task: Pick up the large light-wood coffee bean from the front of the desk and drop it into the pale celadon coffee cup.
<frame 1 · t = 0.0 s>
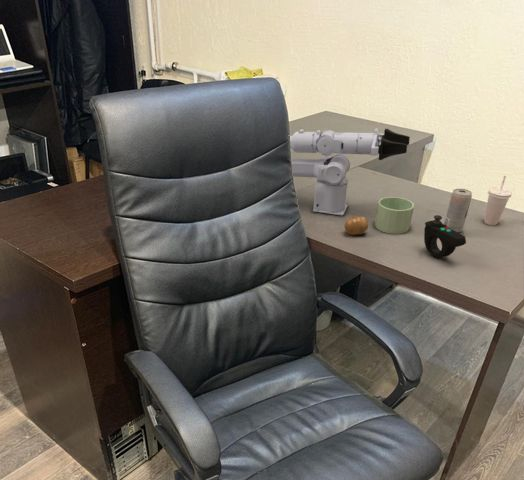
hand: (408, 144, 145), 22 cm above the table, tool horizontal, fingers open, 7 cm apart
smoothie: (490, 223, 158), on the table
bean: (355, 233, 150), on the table
energy drink: (451, 232, 152), on the table
controller: (438, 257, 140), on the table
cup: (392, 226, 154), on the table
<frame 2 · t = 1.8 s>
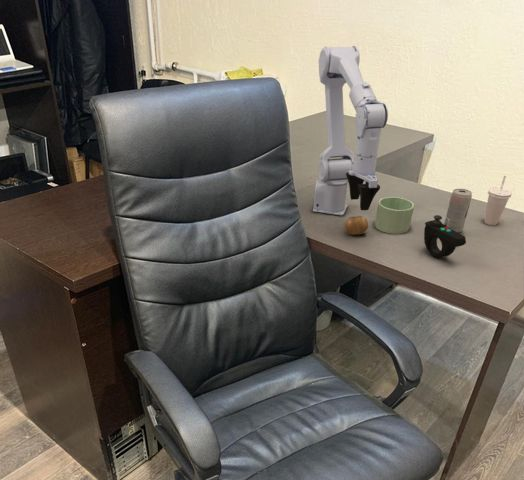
hand: (359, 204, 144), 9 cm above the table, tool pointing down, fingers open, 7 cm apart
nothing on the table moved.
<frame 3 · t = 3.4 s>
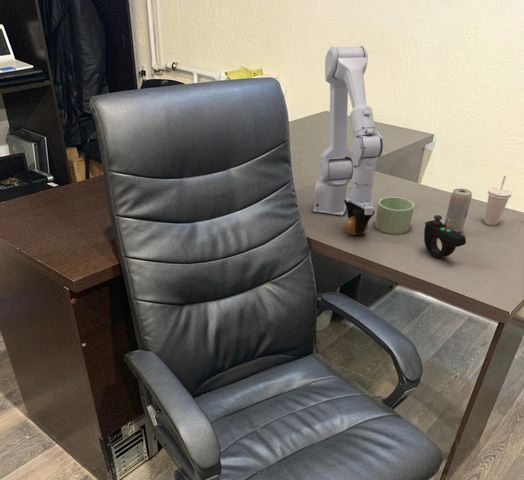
hand: (355, 228, 149), 1 cm above the table, tool pointing down, fingers closed on bean, 5 cm apart
bean: (355, 233, 150), on the table, touching gripper
everything else where it was.
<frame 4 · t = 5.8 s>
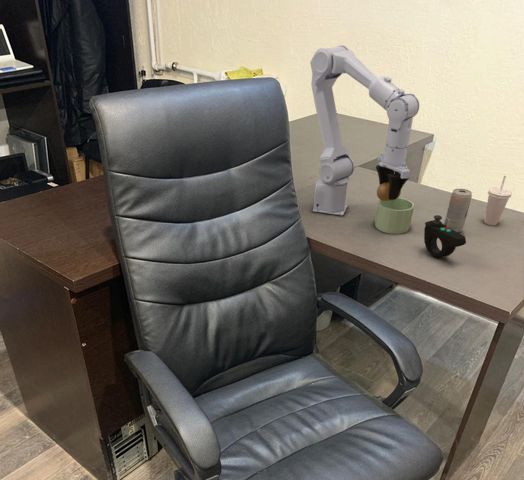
hand: (388, 195, 147), 10 cm above the table, tool pointing down, fingers closed on bean, 5 cm apart
bean: (387, 200, 148), point 9 cm above the table, touching gripper
everything else where it was.
when the fingers open (5 cm above the table, at t = 8.1 s): bean drops 3 cm, resting on cup.
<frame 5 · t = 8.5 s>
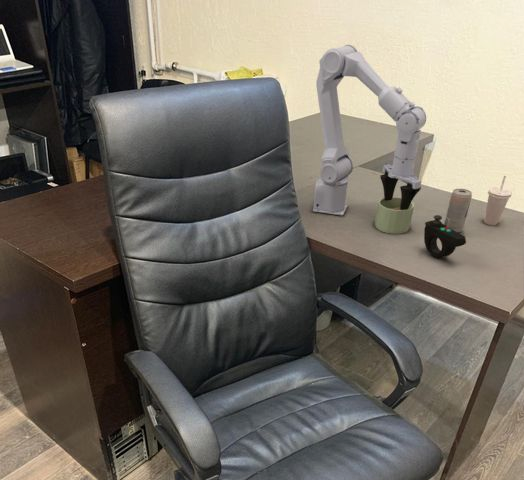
hand: (395, 204, 150), 7 cm above the table, tool pointing down, fingers open, 7 cm apart
bean: (392, 224, 154), point 1 cm above the table, tilted 9°, touching cup
everything else where it was.
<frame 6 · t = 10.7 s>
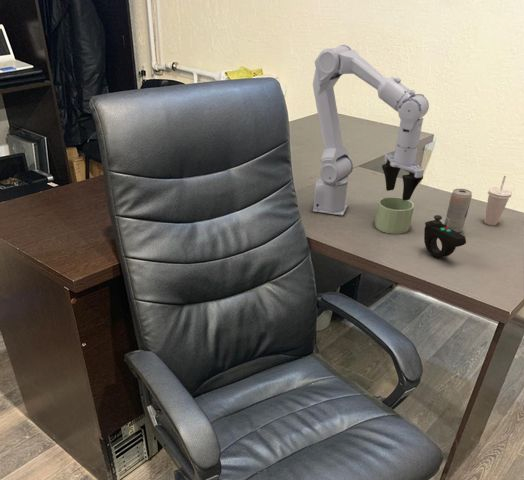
hand: (397, 194, 148), 10 cm above the table, tool pointing down, fingers open, 7 cm apart
bean: (392, 222, 153), point 1 cm above the table, tilted 42°, touching cup
everything else where it was.
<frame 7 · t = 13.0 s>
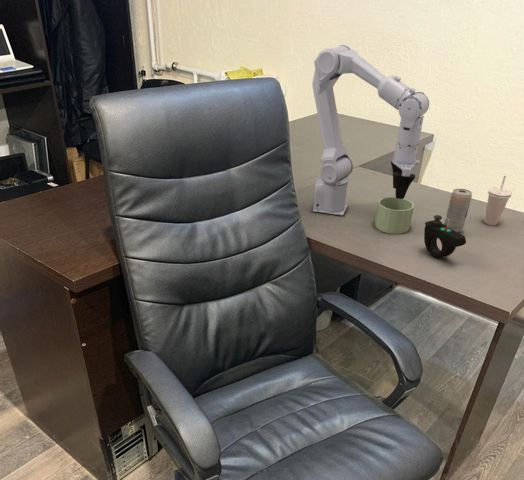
hand: (398, 193, 148), 10 cm above the table, tool pointing down, fingers open, 7 cm apart
nothing on the table moved.
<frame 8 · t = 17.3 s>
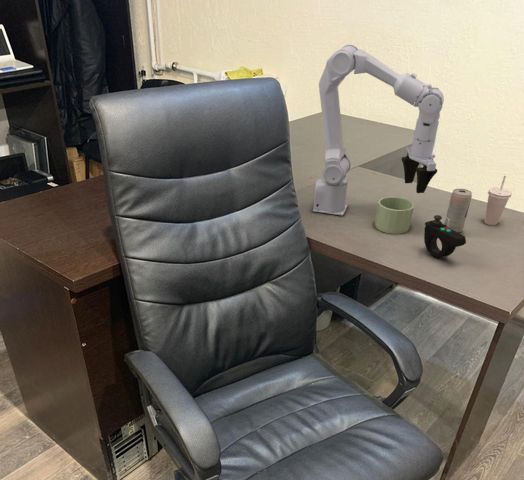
hand: (414, 187, 151), 10 cm above the table, tool pointing down, fingers open, 7 cm apart
nothing on the table moved.
at the end: bean inside the target area in the cup (0.1 cm from its centre), point 1.3 cm above the cup's base; the gripper is holding nothing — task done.
